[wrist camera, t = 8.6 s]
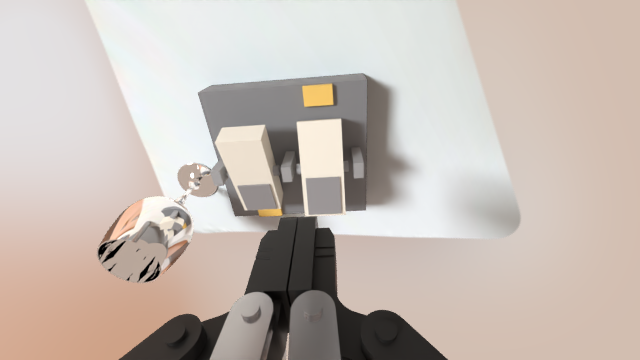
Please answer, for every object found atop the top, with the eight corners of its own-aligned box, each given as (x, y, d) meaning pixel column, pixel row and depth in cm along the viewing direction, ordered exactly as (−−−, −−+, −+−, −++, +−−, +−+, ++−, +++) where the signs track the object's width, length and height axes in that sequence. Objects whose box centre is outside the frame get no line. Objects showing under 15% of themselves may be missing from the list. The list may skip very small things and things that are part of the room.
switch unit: (211, 85, 25) (179, 102, 20) (363, 73, 24) (372, 88, 19) (243, 201, 32) (225, 237, 26) (362, 195, 31) (370, 232, 25)
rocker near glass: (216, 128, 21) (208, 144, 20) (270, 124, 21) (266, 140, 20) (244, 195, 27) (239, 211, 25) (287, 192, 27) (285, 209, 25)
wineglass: (230, 171, 29) (176, 251, 19) (215, 208, 32) (162, 296, 22) (177, 148, 28) (90, 221, 18) (167, 189, 31) (86, 272, 21)
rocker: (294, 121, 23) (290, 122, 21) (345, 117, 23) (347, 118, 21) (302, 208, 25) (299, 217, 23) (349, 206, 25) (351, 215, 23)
